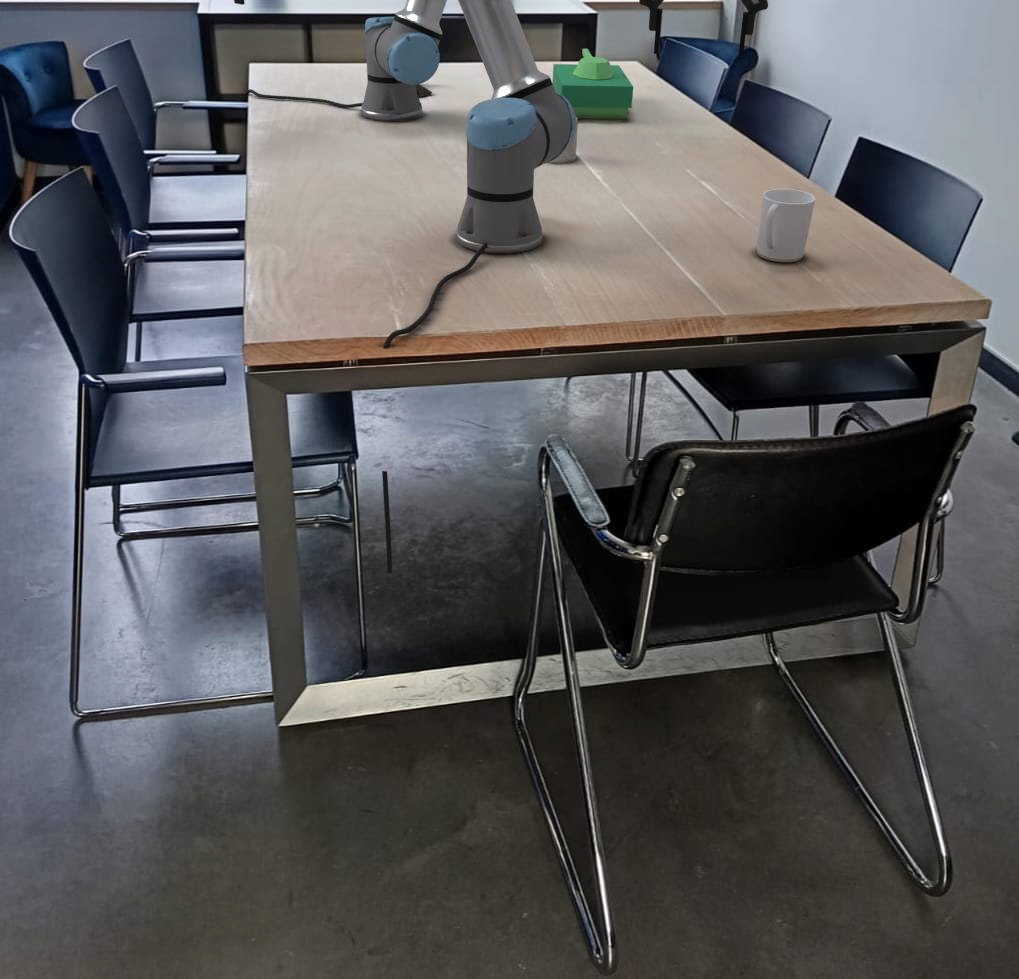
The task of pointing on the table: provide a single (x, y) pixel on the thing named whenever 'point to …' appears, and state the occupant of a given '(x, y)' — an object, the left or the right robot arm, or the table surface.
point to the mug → (784, 224)
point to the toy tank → (594, 87)
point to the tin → (568, 150)
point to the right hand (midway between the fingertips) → (698, 54)
